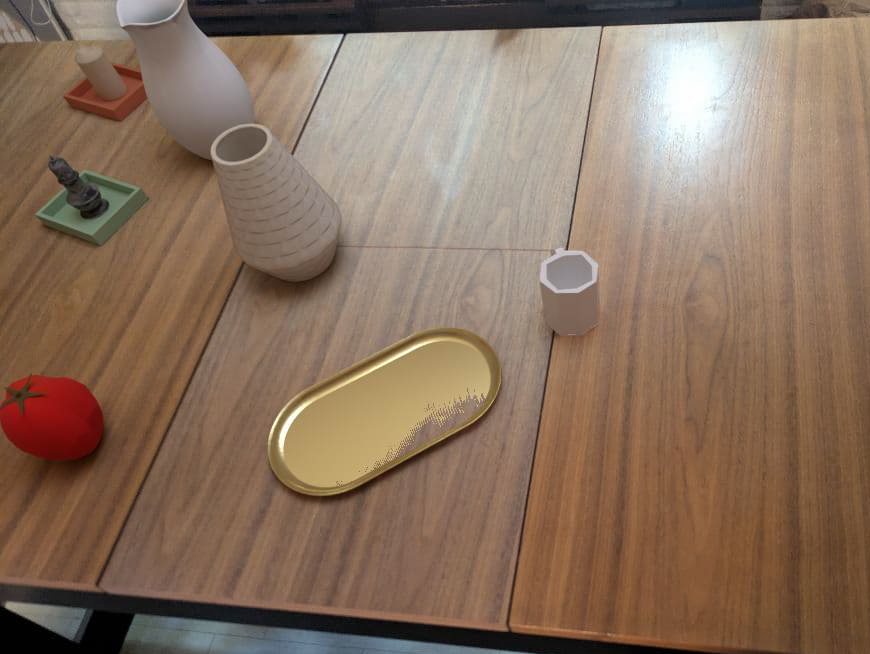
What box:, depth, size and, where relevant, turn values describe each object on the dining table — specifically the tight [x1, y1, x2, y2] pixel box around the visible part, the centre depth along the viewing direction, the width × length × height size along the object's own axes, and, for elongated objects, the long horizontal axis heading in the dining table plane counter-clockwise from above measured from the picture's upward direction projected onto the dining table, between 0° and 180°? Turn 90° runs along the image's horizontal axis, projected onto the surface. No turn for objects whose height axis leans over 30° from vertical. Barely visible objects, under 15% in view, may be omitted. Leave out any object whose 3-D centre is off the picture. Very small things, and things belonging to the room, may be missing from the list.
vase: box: [211, 123, 342, 283], centre depth 109 cm, size 18×17×23 cm
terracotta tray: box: [62, 61, 148, 122], centre depth 147 cm, size 15×13×3 cm
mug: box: [539, 247, 601, 337], centre depth 104 cm, size 12×9×10 cm
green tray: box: [34, 169, 149, 247], centre depth 128 cm, size 15×13×3 cm
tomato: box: [0, 372, 105, 461], centre depth 98 cm, size 12×12×13 cm
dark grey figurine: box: [47, 155, 109, 220], centre depth 124 cm, size 6×6×12 cm
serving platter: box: [267, 326, 503, 497], centre depth 101 cm, size 19×35×2 cm, turn 120°
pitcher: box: [115, 0, 256, 161], centre depth 126 cm, size 24×17×28 cm
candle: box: [74, 43, 127, 101], centre depth 143 cm, size 6×6×10 cm
